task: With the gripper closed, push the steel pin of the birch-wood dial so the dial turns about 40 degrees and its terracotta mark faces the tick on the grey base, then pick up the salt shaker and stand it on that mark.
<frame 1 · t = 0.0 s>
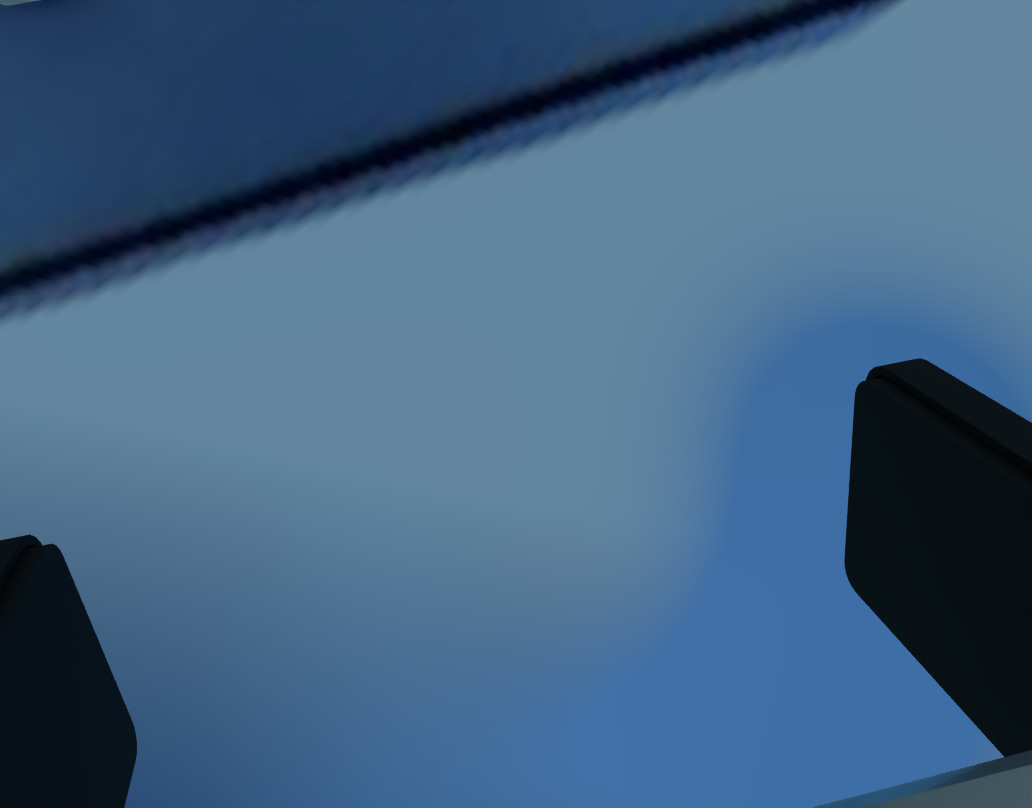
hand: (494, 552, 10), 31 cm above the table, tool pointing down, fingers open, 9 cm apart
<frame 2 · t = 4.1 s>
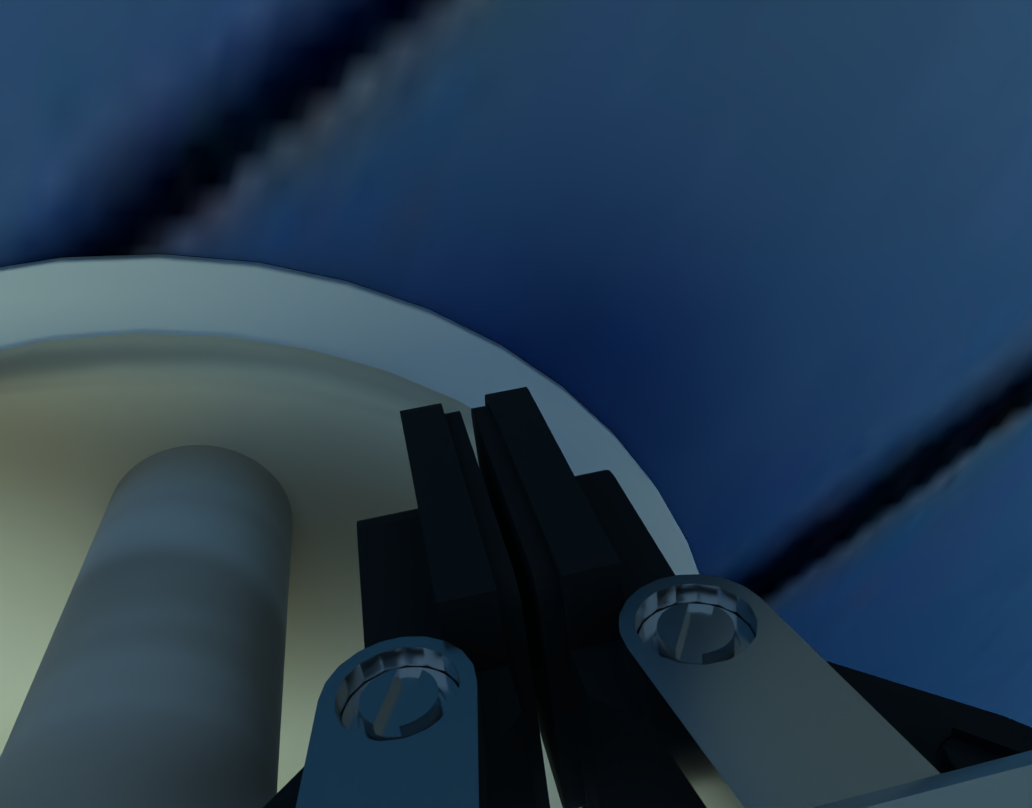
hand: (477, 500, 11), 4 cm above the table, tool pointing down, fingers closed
dial base: (206, 776, 17), on the table
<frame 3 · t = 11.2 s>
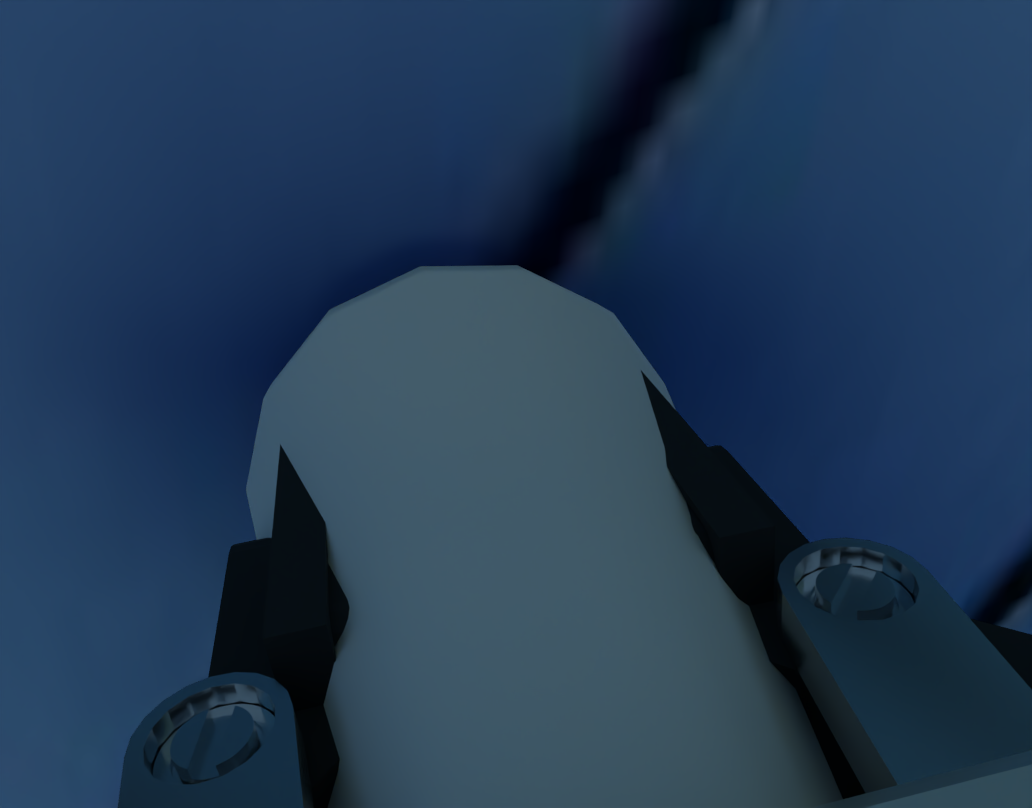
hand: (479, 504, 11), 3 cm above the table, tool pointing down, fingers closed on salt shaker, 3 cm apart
salt shaker: (445, 396, 14), on the table, touching gripper
when the fingers open (7 cm above the table, at t = 17.8 s): salt shaker drops 1 cm, resting on dial.
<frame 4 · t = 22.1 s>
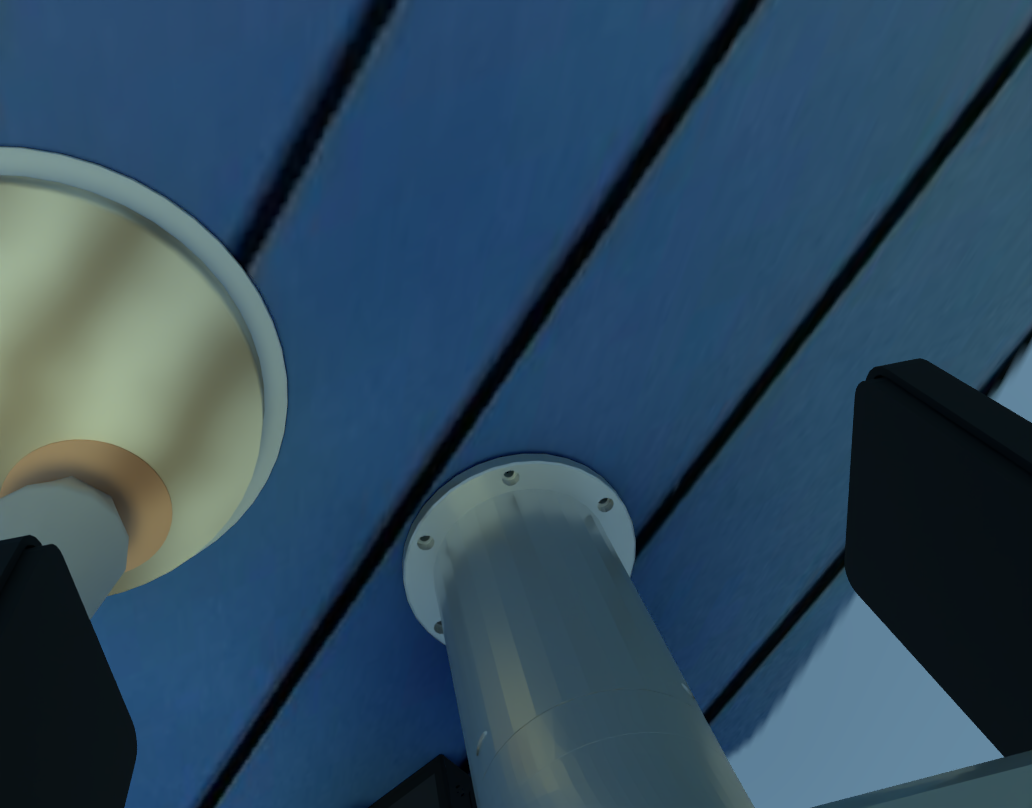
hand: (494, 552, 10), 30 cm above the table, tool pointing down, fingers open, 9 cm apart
salt shaker: (69, 515, 39), point 3 cm above the table, touching dial
dial: (12, 432, 35), point 4 cm above the table, hinge at 51.7°, touching salt shaker
dial base: (42, 390, 39), on the table
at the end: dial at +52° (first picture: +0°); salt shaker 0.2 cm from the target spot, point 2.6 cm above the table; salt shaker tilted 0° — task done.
